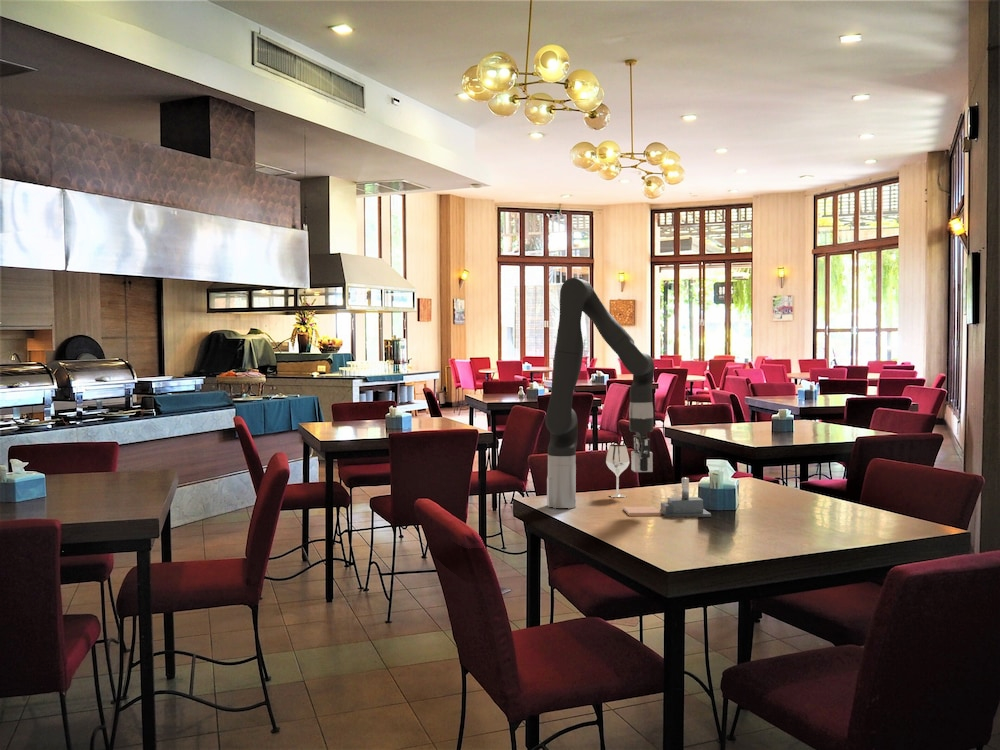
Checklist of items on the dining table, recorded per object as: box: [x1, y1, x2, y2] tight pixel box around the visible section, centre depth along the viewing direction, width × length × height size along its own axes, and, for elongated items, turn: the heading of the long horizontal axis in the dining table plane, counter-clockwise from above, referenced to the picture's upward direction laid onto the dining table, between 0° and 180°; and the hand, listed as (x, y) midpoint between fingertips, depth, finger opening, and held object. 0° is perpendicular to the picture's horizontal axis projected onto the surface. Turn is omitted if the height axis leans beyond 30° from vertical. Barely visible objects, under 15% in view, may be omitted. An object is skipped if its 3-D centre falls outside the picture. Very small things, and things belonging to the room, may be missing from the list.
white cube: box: [630, 450, 654, 473], centre depth 270 cm, size 6×6×6 cm
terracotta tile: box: [622, 506, 662, 517], centre depth 270 cm, size 10×10×1 cm
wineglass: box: [605, 444, 630, 498], centre depth 300 cm, size 8×8×18 cm
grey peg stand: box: [659, 477, 712, 518], centre depth 267 cm, size 14×8×12 cm, turn 93°
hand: (641, 469), depth 270 cm, fingers closed on white cube, 5 cm apart
